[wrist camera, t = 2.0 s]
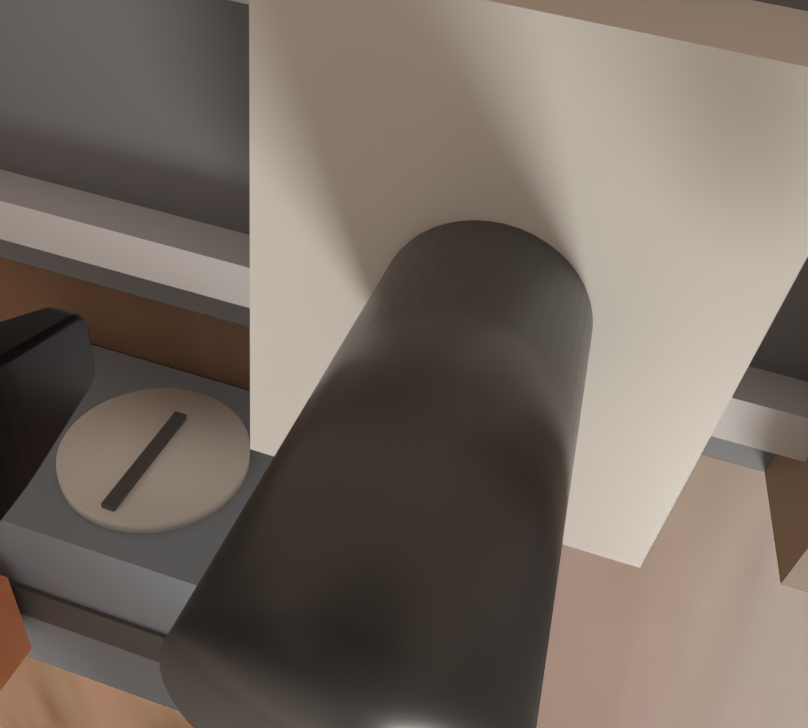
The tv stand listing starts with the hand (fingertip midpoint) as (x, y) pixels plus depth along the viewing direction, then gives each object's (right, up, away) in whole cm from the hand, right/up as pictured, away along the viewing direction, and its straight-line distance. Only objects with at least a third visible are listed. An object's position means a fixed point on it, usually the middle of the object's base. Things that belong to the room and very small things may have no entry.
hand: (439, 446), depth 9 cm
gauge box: (-6, -2, +14) cm, 15 cm away
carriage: (+1, +3, +4) cm, 6 cm away
